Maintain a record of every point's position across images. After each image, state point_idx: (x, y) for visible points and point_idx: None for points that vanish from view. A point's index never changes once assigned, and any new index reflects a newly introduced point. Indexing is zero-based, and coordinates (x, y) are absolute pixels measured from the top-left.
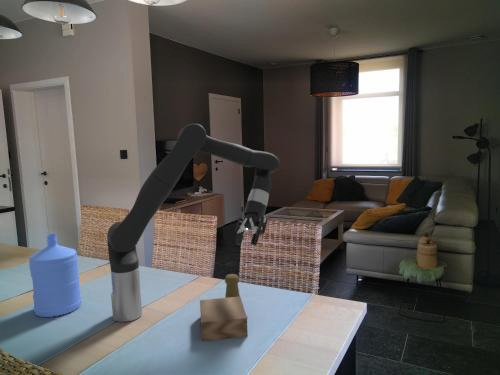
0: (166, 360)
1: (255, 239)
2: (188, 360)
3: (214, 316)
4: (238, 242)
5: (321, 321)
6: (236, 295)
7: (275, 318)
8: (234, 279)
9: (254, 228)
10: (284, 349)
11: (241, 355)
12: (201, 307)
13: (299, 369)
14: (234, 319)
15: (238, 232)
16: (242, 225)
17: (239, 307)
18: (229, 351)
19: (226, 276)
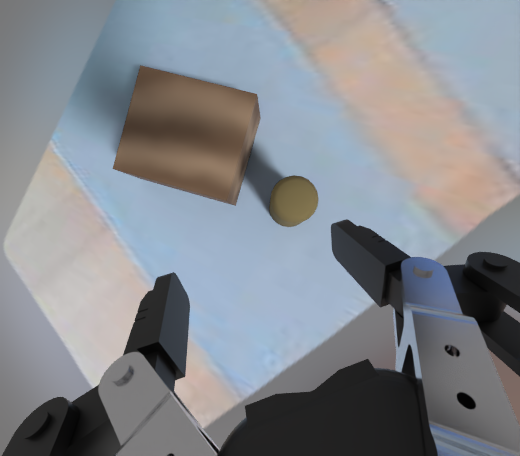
0: (134, 21)
1: (137, 318)
2: (117, 56)
3: (152, 102)
4: (338, 238)
5: (124, 335)
6: (272, 209)
7: (177, 260)
8: (271, 199)
9: (139, 420)
10: (74, 218)
11: (91, 144)
12: (212, 86)
13: (19, 211)
14: (121, 140)
15: (413, 267)
16: (442, 353)
17: (168, 173)
18: (111, 129)
19: (299, 179)
